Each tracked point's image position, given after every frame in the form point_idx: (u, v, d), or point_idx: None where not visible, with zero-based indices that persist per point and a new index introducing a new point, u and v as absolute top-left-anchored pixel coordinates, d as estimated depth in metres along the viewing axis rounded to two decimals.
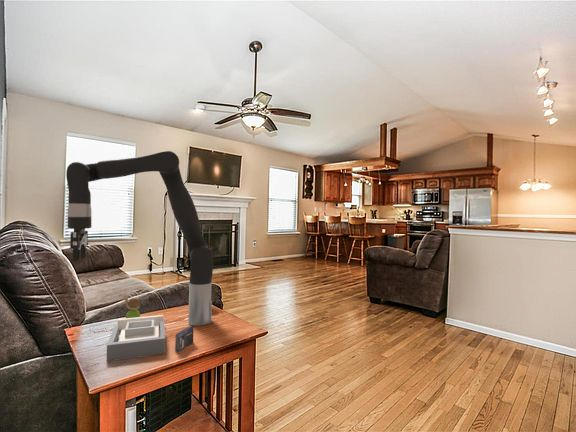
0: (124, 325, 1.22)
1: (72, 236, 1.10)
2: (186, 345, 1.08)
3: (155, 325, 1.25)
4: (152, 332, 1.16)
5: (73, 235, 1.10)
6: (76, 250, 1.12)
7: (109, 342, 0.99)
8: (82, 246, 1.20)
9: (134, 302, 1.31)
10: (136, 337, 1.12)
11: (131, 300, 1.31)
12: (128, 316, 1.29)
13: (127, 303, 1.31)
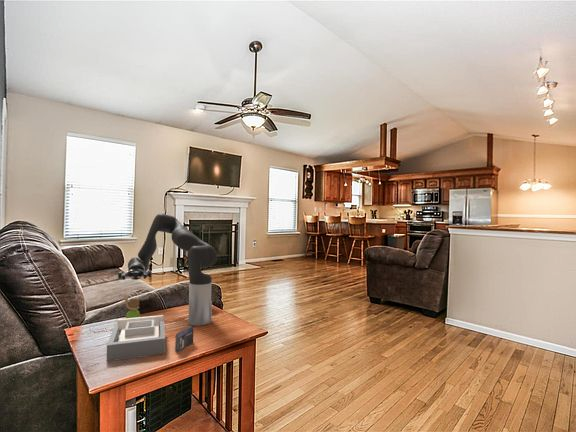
0: (124, 325, 1.22)
1: None
2: (186, 345, 1.08)
3: (155, 325, 1.25)
4: (152, 332, 1.16)
5: None
6: (122, 275, 1.43)
7: (109, 342, 0.99)
8: None
9: (134, 302, 1.31)
10: (136, 337, 1.12)
11: (131, 300, 1.31)
12: (128, 316, 1.29)
13: (127, 303, 1.31)
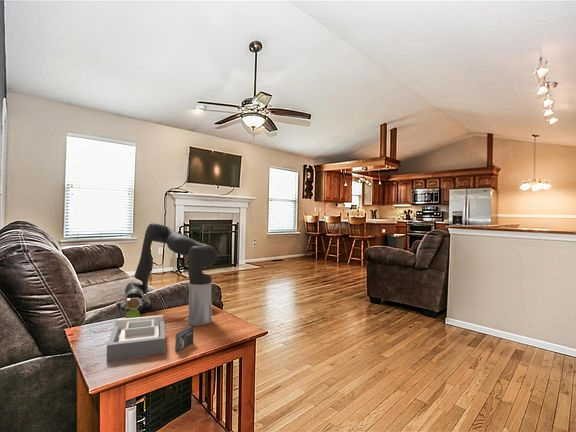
0: (124, 325, 1.22)
1: (116, 305, 1.34)
2: (186, 345, 1.08)
3: (155, 325, 1.25)
4: (152, 332, 1.16)
5: (116, 304, 1.35)
6: None
7: (109, 342, 0.99)
8: None
9: (134, 302, 1.31)
10: (136, 337, 1.12)
11: (131, 300, 1.31)
12: (128, 316, 1.29)
13: (127, 303, 1.31)
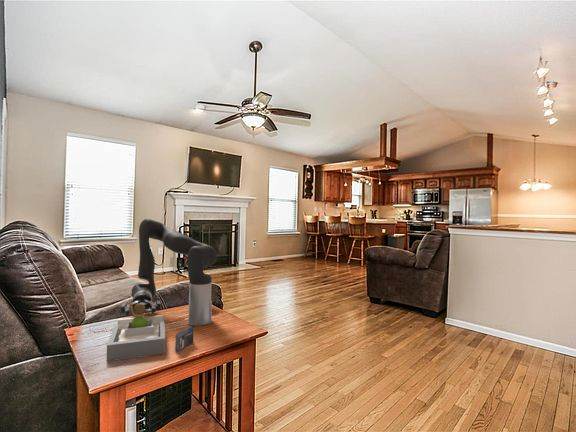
0: (124, 325, 1.22)
1: None
2: (186, 345, 1.08)
3: (155, 325, 1.25)
4: (152, 332, 1.16)
5: None
6: (125, 309, 1.18)
7: (109, 342, 0.99)
8: (152, 307, 1.22)
9: (139, 308, 1.18)
10: (136, 337, 1.12)
11: (136, 306, 1.18)
12: (133, 324, 1.16)
13: (132, 309, 1.18)
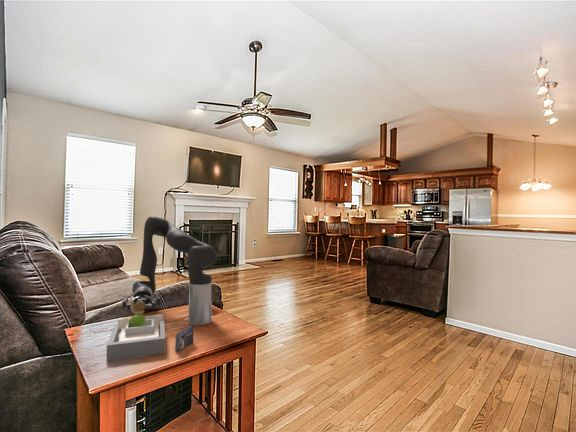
0: (124, 324, 1.23)
1: None
2: (186, 345, 1.08)
3: (155, 324, 1.26)
4: (152, 331, 1.17)
5: None
6: (126, 304, 1.24)
7: (109, 342, 0.99)
8: None
9: (139, 304, 1.21)
10: (136, 336, 1.13)
11: (137, 303, 1.21)
12: (132, 319, 1.18)
13: (132, 307, 1.21)
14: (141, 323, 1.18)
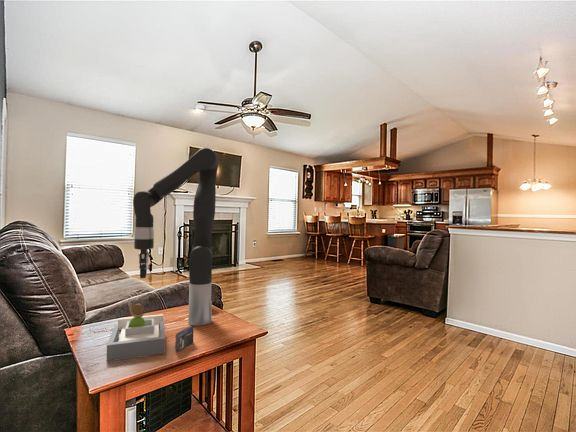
0: (124, 324, 1.23)
1: (141, 258, 1.26)
2: (186, 345, 1.08)
3: (155, 324, 1.26)
4: (152, 331, 1.17)
5: (142, 257, 1.26)
6: (143, 269, 1.28)
7: (109, 342, 0.99)
8: (144, 265, 1.35)
9: (138, 308, 1.18)
10: (136, 336, 1.13)
11: (135, 306, 1.18)
12: (131, 324, 1.16)
13: (131, 309, 1.18)
14: None
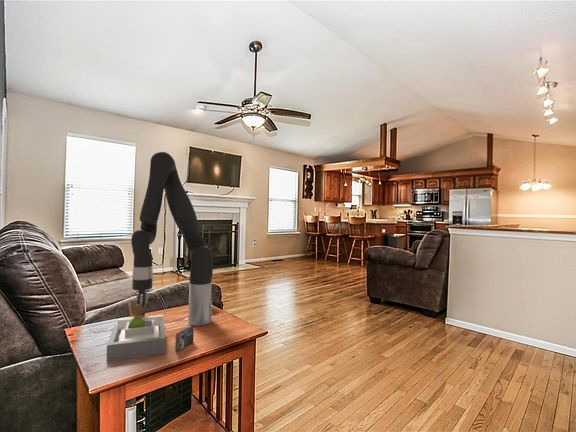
0: (124, 325, 1.22)
1: (139, 304, 1.22)
2: (186, 345, 1.08)
3: (155, 325, 1.25)
4: (152, 332, 1.16)
5: (140, 303, 1.22)
6: None
7: (109, 342, 0.99)
8: None
9: (138, 309, 1.17)
10: (136, 337, 1.12)
11: (135, 307, 1.17)
12: (131, 325, 1.15)
13: (131, 310, 1.17)
14: None
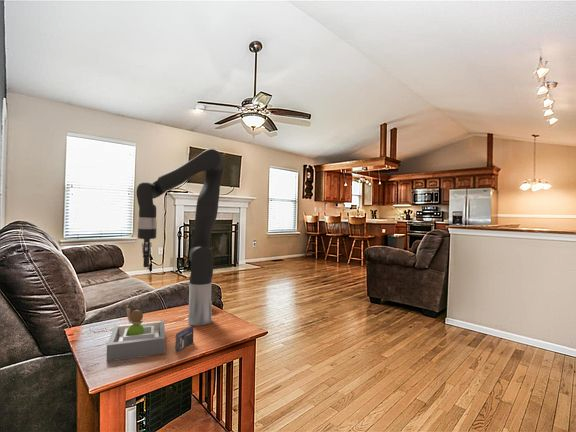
0: (122, 332, 1.15)
1: (144, 251, 1.31)
2: (186, 345, 1.08)
3: (155, 332, 1.18)
4: None
5: (145, 250, 1.31)
6: (146, 259, 1.35)
7: (109, 342, 0.99)
8: None
9: (137, 315, 1.10)
10: None
11: (133, 313, 1.10)
12: (129, 332, 1.08)
13: (129, 316, 1.11)
14: None
